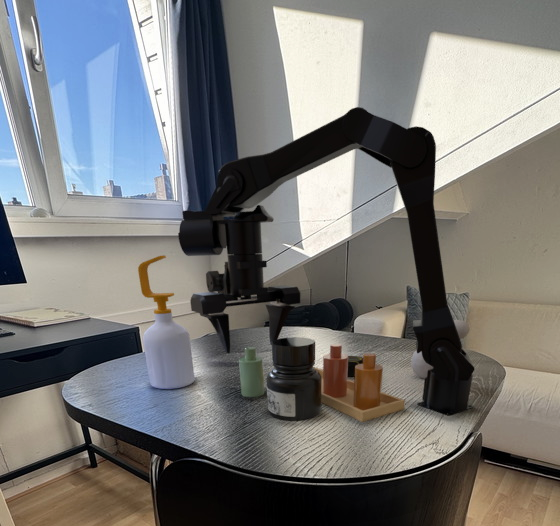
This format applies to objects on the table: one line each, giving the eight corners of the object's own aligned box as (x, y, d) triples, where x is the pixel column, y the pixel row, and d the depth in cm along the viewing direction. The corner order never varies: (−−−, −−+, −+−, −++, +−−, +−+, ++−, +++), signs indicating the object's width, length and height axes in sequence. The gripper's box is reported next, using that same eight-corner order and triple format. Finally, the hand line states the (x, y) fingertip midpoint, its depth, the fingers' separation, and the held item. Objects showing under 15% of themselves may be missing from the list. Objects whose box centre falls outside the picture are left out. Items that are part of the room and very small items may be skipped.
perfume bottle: (409, 372, 88) (415, 314, 83) (458, 374, 85) (467, 315, 80) (409, 382, 82) (415, 321, 77) (461, 385, 79) (472, 322, 74)
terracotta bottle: (351, 394, 75) (354, 345, 71) (332, 399, 73) (333, 349, 69) (336, 388, 78) (337, 341, 74) (317, 393, 76) (318, 344, 72)
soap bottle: (189, 389, 82) (172, 255, 72) (144, 390, 82) (121, 257, 72) (198, 376, 90) (184, 254, 80) (157, 377, 90) (138, 255, 80)
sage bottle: (268, 396, 77) (266, 348, 73) (248, 401, 75) (244, 352, 71) (257, 390, 80) (255, 344, 76) (237, 394, 78) (233, 347, 74)
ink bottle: (260, 407, 71) (256, 338, 66) (306, 400, 74) (306, 333, 69) (280, 428, 63) (277, 351, 58) (331, 419, 66) (333, 344, 61)
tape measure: (362, 370, 90) (363, 353, 89) (367, 379, 84) (368, 361, 83) (331, 370, 91) (332, 354, 89) (334, 380, 85) (334, 362, 83)
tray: (404, 411, 68) (405, 400, 67) (362, 424, 64) (362, 412, 63) (314, 376, 88) (314, 366, 87) (277, 384, 83) (277, 374, 82)
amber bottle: (385, 408, 68) (389, 355, 64) (365, 414, 66) (368, 359, 62) (367, 401, 71) (370, 349, 68) (347, 406, 69) (349, 353, 66)
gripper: (269, 252, 78) (272, 335, 84) (173, 256, 69) (185, 348, 76) (302, 252, 69) (303, 344, 76) (198, 257, 60) (209, 360, 67)
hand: (250, 348), depth 74 cm, fingers open, 9 cm apart
